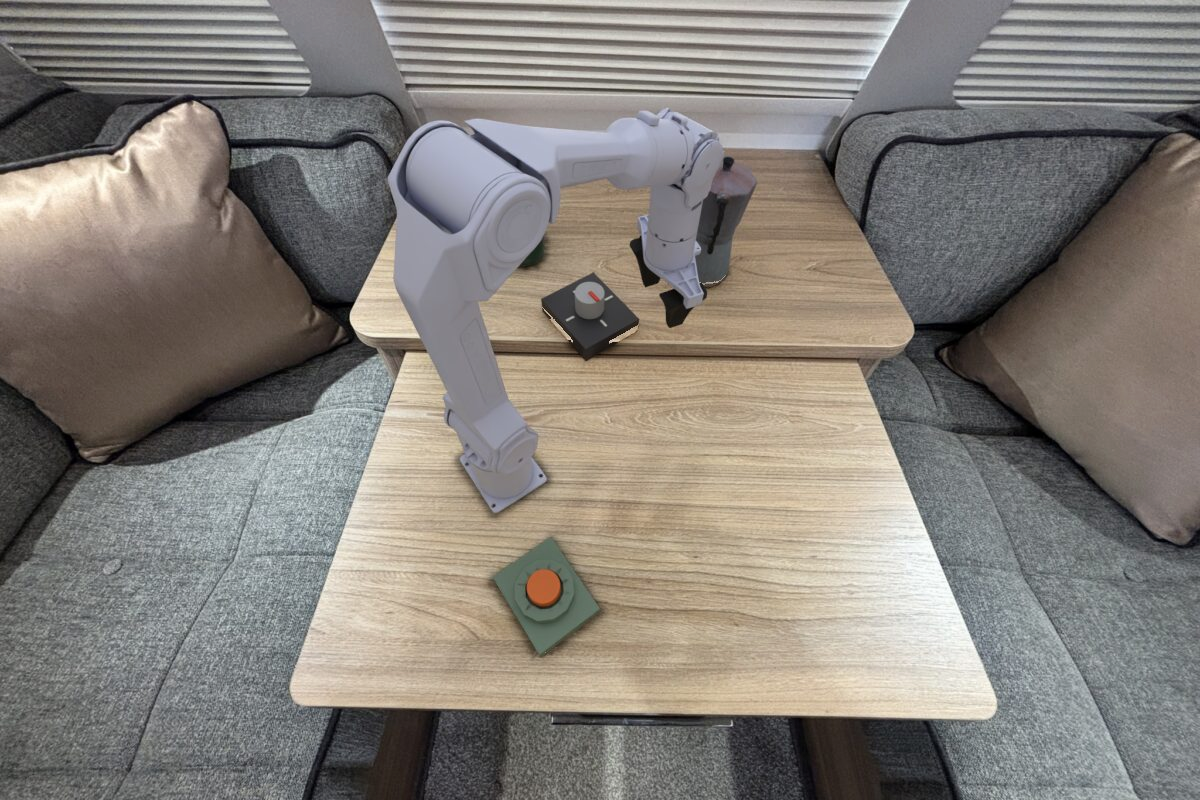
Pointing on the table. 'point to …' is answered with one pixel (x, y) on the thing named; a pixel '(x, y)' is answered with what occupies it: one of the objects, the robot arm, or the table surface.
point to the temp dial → (589, 300)
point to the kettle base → (556, 619)
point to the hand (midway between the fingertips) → (662, 303)
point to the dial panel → (589, 332)
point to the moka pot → (722, 218)
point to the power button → (543, 588)
